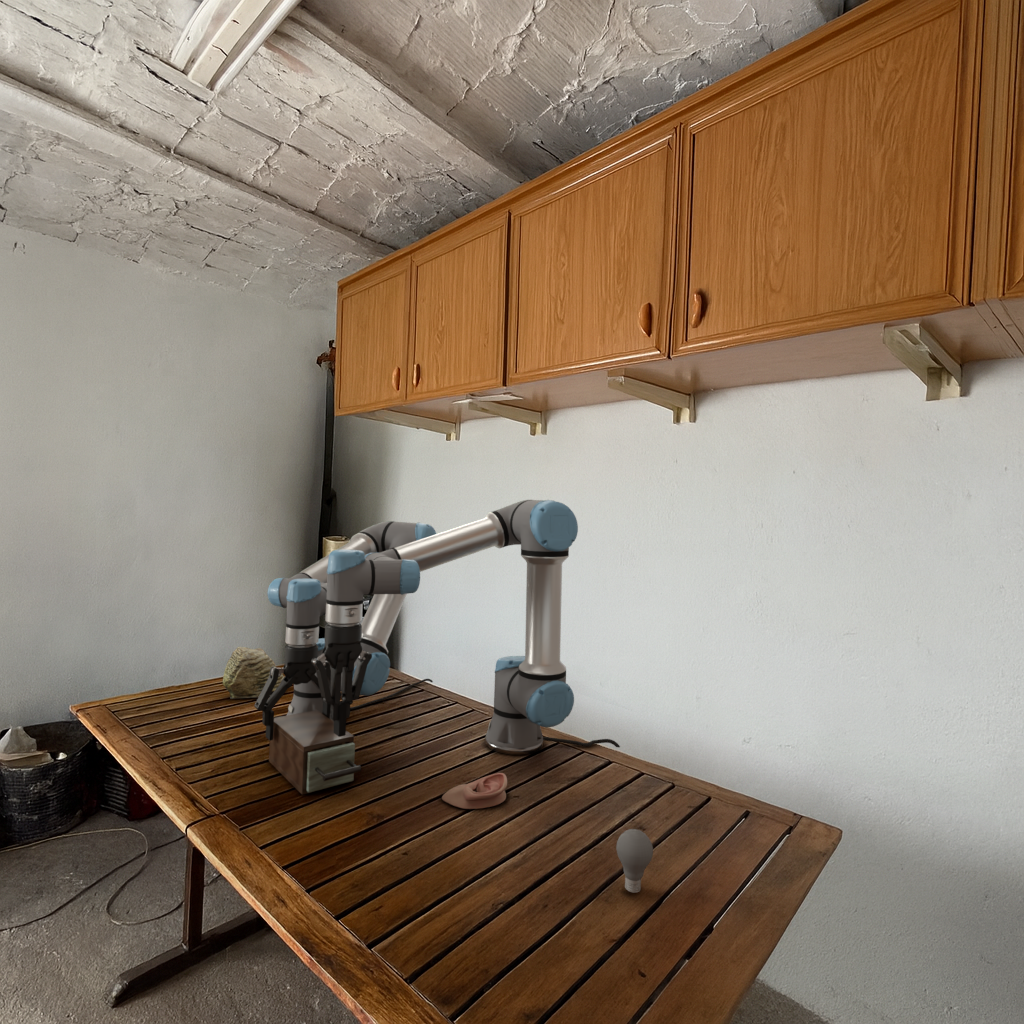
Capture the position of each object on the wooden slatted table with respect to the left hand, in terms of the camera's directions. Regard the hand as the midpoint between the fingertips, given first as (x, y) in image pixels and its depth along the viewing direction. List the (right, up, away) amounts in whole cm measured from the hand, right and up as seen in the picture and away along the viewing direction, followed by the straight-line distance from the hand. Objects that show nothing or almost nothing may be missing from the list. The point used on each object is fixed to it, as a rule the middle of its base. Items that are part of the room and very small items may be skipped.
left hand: (298, 732), depth 151 cm
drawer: (+8, -6, -9) cm, 14 cm away
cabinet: (+4, -7, -5) cm, 10 cm away
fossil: (-30, -5, +47) cm, 56 cm away
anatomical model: (+43, -9, -15) cm, 47 cm away
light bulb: (+71, -11, -46) cm, 85 cm away
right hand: (+15, +6, -17) cm, 23 cm away
